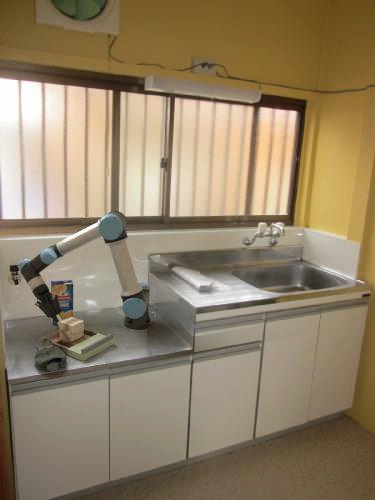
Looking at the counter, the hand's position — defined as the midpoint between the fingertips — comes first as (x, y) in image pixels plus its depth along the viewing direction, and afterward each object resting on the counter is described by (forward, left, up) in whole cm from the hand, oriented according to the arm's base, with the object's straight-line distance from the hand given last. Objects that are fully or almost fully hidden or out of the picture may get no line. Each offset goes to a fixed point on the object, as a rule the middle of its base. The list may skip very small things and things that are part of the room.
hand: (62, 327), depth 206 cm
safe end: (-13, +12, -7) cm, 19 cm away
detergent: (+6, +19, -7) cm, 21 cm away
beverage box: (+1, -23, -7) cm, 24 cm away
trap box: (-3, +2, -7) cm, 8 cm away
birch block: (-4, +3, -4) cm, 7 cm away
